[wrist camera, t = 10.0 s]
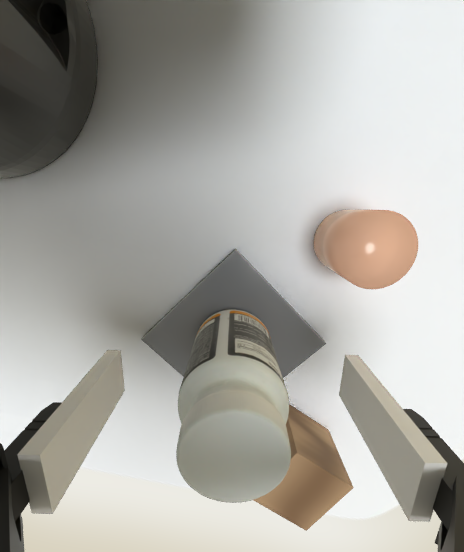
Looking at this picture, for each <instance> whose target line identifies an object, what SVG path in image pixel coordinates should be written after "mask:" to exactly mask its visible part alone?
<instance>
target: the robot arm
mask: <svg viewBox="0 0 464 552" xmlns="http://www.w3.org/2000/svg"><path fill="white" fill-rule="evenodd" d="M96 79H97V48H96V39H95V33H94V28H93V23H92V19H91V15H90V12H89V8H88V5H87V2H86V0H0V178H10V177H17V176H21V175H25V174H29V173H32V172H34V171H37V170H39V169H41V168H43V167H45V166H47V165H48V164H50V163H51V162H53V161H54V160H55V159H57V158H58V157H59V156H60V155H61V154H63V153H64V152H65V151H66V150H67V148H68V147H69V146H70V145H71V144H72V143H73V141H74V140H75V139H76V137H77V136H78V134H79V132H80V131H81V129H82V127H83V125H84V123H85V121H86V119H87V116H88V114H89V111H90V108H91V105H92V101H93V97H94V93H95V87H96ZM124 391H125V389H124V379H123V370H122V360H121V350H107V351H106V352H105V353H104V355H103V356H102V357H101V358H100V359H99V360H98V362H97V363H96V364H95V365H94V366H93V367H92V369H91V370H90V371H89V372H88V373H87V374H86V375H85V377H84V378H83V379H82V380H81V381H80V382H79V384H78V385H77V386H76V387H75V388H74V389H73V391H72V392H71V393H70V394H69V395H68V396H67V398H66V399H65V400H64V401H63V402H62V403H52V404H51V405H49V406H48V407H46V408H45V409H43V410H42V411H41V412H40V413H39V414H38V415H37V416H36V417H35V418H34V419H33V420H32V422H31V423H30V424H29V425H28V426H27V427H26V428H25V430H24V431H22V432H21V433H20V434H19V436H18V437H17V438H16V439H15V440H14V441H13V442H12V443H11V444H10V445H9V446H8V447H7V448H6V450H5V451H4V449H3V446H2V444H0V552H24V540H23V523H22V517H21V513H22V511H23V510H24V508H25V507H26V505H27V504H28V503H30V508H31V511H32V513H39V514H40V513H41V514H53V512H54V511H55V509H56V507H57V505H58V504H59V502H60V500H61V499H62V497H63V495H64V494H65V492H66V490H67V488H68V487H69V485H70V483H71V481H72V480H73V478H74V476H75V475H76V473H77V471H78V470H79V468H80V466H81V464H82V463H83V461H84V459H85V458H86V456H87V454H88V452H89V451H90V449H91V447H92V446H93V444H94V442H95V440H96V439H97V437H98V435H99V434H100V432H101V430H102V428H103V427H104V425H105V423H106V422H107V420H108V418H109V416H110V415H111V413H112V411H113V410H114V408H115V406H116V404H117V403H118V401H119V399H120V398H121V396H122V394H123V392H124ZM339 396H340V397H341V399H342V401H343V403H344V405H345V406H346V408H347V410H348V412H349V414H350V415H351V417H352V419H353V421H354V423H355V424H356V426H357V428H358V430H359V432H360V433H361V435H362V437H363V439H364V441H365V443H366V444H367V446H368V448H369V450H370V452H371V453H372V455H373V457H374V459H375V461H376V462H377V464H378V466H379V468H380V470H381V471H382V473H383V475H384V477H385V479H386V480H387V482H388V484H389V486H390V488H391V489H392V491H393V493H394V495H395V497H396V498H397V500H398V502H399V504H400V506H401V507H402V509H403V511H404V513H405V515H406V516H407V518H408V520H409V521H430V519H431V516H432V512H433V509H434V511H435V512H436V514H437V515H438V517H439V518H440V520H441V521H442V522H441V525H440V528H439V531H438V534H437V537H436V540H435V543H436V544H438V552H464V463H463V462H462V461H461V460H460V459H459V458H458V456H457V455H456V454H455V453H454V452H453V451H452V450H451V449H450V447H449V446H448V445H447V444H446V443H445V442H444V441H443V439H442V438H440V436H439V435H438V434H437V433H436V432H435V430H433V429H432V427H431V426H430V425H429V424H428V423H427V421H426V420H425V419H424V418H423V417H421V416H420V415H419V414H417V413H416V412H414V411H413V410H412V409H402V408H401V406H400V405H399V404H398V403H397V402H396V400H395V399H394V398H393V397H392V396H391V394H390V393H389V392H388V391H387V390H386V388H385V387H384V386H383V385H382V383H381V382H380V381H379V380H378V379H377V377H376V376H375V375H374V374H373V373H372V371H371V370H370V369H369V368H368V366H367V365H366V364H365V363H364V362H363V360H362V359H361V358H360V357H359V356H358V355H345V359H344V366H343V373H342V379H341V386H340V392H339Z"/></svg>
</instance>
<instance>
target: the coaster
mask: <svg viewBox="0 0 464 552" xmlns="http://www.w3.org/2000/svg"><path fill="white" fill-rule="evenodd" d="M231 309H236V310H241V311H245V312H248V313H250V314H252V315H254V316H256V317H257V318H258V319H259V320H261V322H262V323H263V324H264V325H265V327H266V328H267V330H268V332H269V335H270V338H271V341H272V344H273V348H274V351H275V355H276V358H277V361H278V365H279V368H280V371H281V375H282V378H284V377H285V376H286V375H287V374H289V373H290V372H291V371H292V370H294V369H295V368H296V367H297V366H299V365H300V364H301V363H302V362H304V361H305V360H306V359H307V358H309V357H310V356H311V355H312V354H314V353H315V352H316V351H317V350H319V349H320V348H321V347H322V346H324V345H325V344H326V343H325V342H324V340H323V339H322V338H321V337H320V336H319V335H318V334H317V333H316V332H315V331H314V330H313V329H312V328H311V326H310V325H309V324H308V323H307V322H306V321H305V320H304V319H303V318H302V317H301V316H300V315H299V314H298V313H297V312H296V311H295V310H294V309H293V308H292V307H291V306H290V305H289V304H288V303H287V301H286V300H285V299H284V298H283V297H282V296H281V295H280V294H279V293H278V292H277V291H276V290H275V289H274V288H273V287H272V286H271V285H270V284H269V283H268V282H267V281H266V280H265V279H264V278H263V276H262V275H261V274H260V273H259V272H258V271H257V270H256V269H255V268H254V267H253V266H252V265H251V264H250V263H249V262H248V261H247V260H246V259H245V258H244V257H243V256H242V255H241V254H240V253H239V251H238V250H237V249H235V250H234V251H233V252H232V253H231V254H230V255H229V256H228V257H226V258H225V259H224V260H223V261H222V262H221V263H220V264H219V265H218V266H217V267H216V268H215V269H214V270H213V271H212V272H211V273H210V274H209V275H208V276H206V277H205V278H204V279H203V280H202V281H201V282H200V283H199V284H198V285H197V286H196V287H195V288H194V289H193V290H192V291H191V292H190V293H189V294H188V295H186V296H185V297H184V298H183V299H182V300H181V301H180V302H179V303H178V304H177V305H176V306H175V307H174V308H173V309H172V310H171V311H170V312H169V313H168V314H167V315H165V316H164V317H163V318H162V319H161V320H160V321H159V322H158V323H157V324H156V325H155V326H154V327H153V328H152V329H151V330H150V331H149V332H148V333H147V334H145V335H144V337H143V338H142V339H141V340H143V341H144V342H145V343H146V344H147V345H148V346H149V347H151V348H152V349H153V350H154V351H155V352H156V353H157V354H159V355H160V356H161V357H162V358H163V359H164V360H165V361H166V362H168V363H169V364H170V365H171V366H172V367H173V368H174V369H176V370H177V371H178V372H179V373H180V374H181V375H182V376H184V374H185V371H186V368H187V364H188V361H189V358H190V354H191V351H192V347H193V344H194V341H195V338H196V335H197V333H198V331H199V329H200V327H201V325H202V324H203V323H204V322H205V321H206V320H207V319H208V318H209V317H210V316H212V315H214V314H216V313H218V312H220V311H224V310H231Z"/></svg>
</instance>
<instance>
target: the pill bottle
mask: <svg viewBox="0 0 464 552" xmlns="http://www.w3.org/2000/svg"><path fill="white" fill-rule="evenodd" d="M178 412H179V417H180V420H181V423H182V425H181V429H180V434H179V439H178V444H177V464H178V468H179V471H180V473H181V475H182V477H183V478H184V480H185V481H186V482H187V484H188V485H189V486H190V487H191V488H193V489H194V490H195V491H197V492H198V493H200V494H201V495H203V496H205V497H207V498H210V499H213V500H217V501H221V502H232V503H236V502H246V501H251V500H254V499H257V498H259V497H261V496H264V495H266V494H267V493H269V492H271V491H272V490H273V489H274V488H276V487H277V486H278V485H279V484H280V483H281V481H282V480H283V479H284V477H285V475H286V474H287V471H288V469H289V466H290V461H291V448H290V443H289V438H288V433H287V428H286V423H287V419H288V414H289V397H288V393H287V390H286V387H285V384H284V381H283V378H282V375H281V371H280V368H279V365H278V361H277V358H276V355H275V351H274V348H273V344H272V341H271V338H270V335H269V332H268V330H267V328H266V327H265V325H264V324H263V323H262V322H261V320H259V319H258V318H257V317H256V316H254V315H252V314H250V313H248V312H245V311H241V310H236V309H231V310H224V311H220V312H218V313H216V314H214V315H212V316H210V317H209V318H208V319H207V320H206V321H205V322H204V323H203V324H202V325H201V327H200V329H199V331H198V333H197V335H196V338H195V341H194V344H193V347H192V351H191V354H190V358H189V361H188V364H187V368H186V371H185V374H184V378H183V381H182V385H181V388H180V391H179V398H178Z"/></svg>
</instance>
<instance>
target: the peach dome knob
mask: <svg viewBox="0 0 464 552" xmlns="http://www.w3.org/2000/svg"><path fill="white" fill-rule="evenodd" d="M314 251H315V254H316V256H317V258H318V259H319V261H320V262H321V263H322V264H323V265H324V266H326V267H327V268H329V269H331V270H332V271H334V272H335V273H337V274H338V275H340V276H341V277H343V278H345V279H346V280H348V281H349V282H351V283H352V284H354V285H356V286H358V287H361V288H365V289H380V288H384V287H387V286H390V285H392V284H394V283H395V282H397V281H398V280H400V279H401V278H402V277H403V276H404V275H405V274H406V273H407V272H408V271H409V270H410V268H411V267H412V265H413V263H414V261H415V258H416V256H417V251H418V238H417V234H416V231H415V229H414V227H413V225H412V224H411V222H410V221H409V220H408V219H407V218H405V217H404V216H403V215H401V214H399V213H396V212H394V211H389V210H350V209H347V210H340V211H337V212H334V213H332V214H330V215H329V216H327V217H326V218H325V219H324V220H323V221H322V222H321V223H320V225H319V226H318V228H317V230H316V233H315V236H314Z"/></svg>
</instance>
